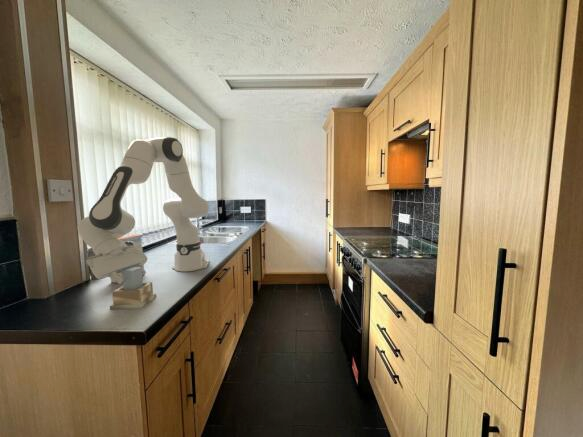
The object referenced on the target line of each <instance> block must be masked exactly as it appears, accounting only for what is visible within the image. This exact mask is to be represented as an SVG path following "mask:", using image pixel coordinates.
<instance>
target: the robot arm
mask: <svg viewBox="0 0 583 437" xmlns="http://www.w3.org/2000/svg"><path fill="white" fill-rule="evenodd" d="M183 153H184V149H183V145H182V143H181V142H180V141H179V140H178V139H177V138H175V137H172V136H171V137H170V136H166V137H154V138H149V139H134V140H133V141H132V142H131V143H130V145H129V146H128V148H127V150H126V152H125V154H124V156H123V159H122V162H121V163H120V166H118V167H117V168H116V169H115V171H114V172H113V173H112V175H111V177H110V178H109V181H108V182H107V185H106V186H105V188H104V190H103V192H102V193H101V196H100V197H99V199H98V200H97V201H96V202H95V204H94V205H92V207H91V208H90V211H89V213H88V216H85V217H84V218H83V219H81V220H80V221H79V223H78V224H77V232H78V235H79V236H80V238H82V240H83V242H84V243H85V244H86V245H87V246H88V247H90V248H92V249H93V252H94V253H95V256H90V257H88V258H87V259H86V258H85V263H86V265H87V266H90V269H91V271H92V272H93V274H94V275H95V277H96V278H98V279H97V280H103V279H106V278H109V279H110V280H111V279H113V280H115V281H117V282H118V283H117V284H119V285H122V284H123V283H124V281H125V279H124V277H120V276H118V275H116V274H118V273H121V272H122V270H124V269H127V268H130V267H142V276H144V275H146V274H147V271H146V270H145V265H146V263H147V262H148V257H147V255H146V254H145V253H144V252H143V250H142V251H141V250H140V249H139V248H137V247H135V246H136V244H135V243H134V242H127V241H119V240H118V239H117V238H120V237H124V236H127V235H128V234H129V233H131V232H132V231H133V229H134V227H135V225H136V220H135V218H134V215H132V214H130V213H129V212H127V211H126V210H124V209H123V208H122V206H121V203H122V200H123V199H124V196H125V195H126V194H125V193H126V192H127V190H128V187H129V186H130V185H139V184H140V185H141V184H143V183H145V182H147V181H148V179H149V177H150V176H151V173H152V170H153V166H154V163H163V168H164V171H165V177H166V179H167V184H168V188H169V190H171V192H173V193H175V194H176V195H177V196H178V197H174V198H170V199H167V200H165V201H164V203H163V205H162V206H163V207H162V210H163V212H164V215H165V216H166V217H168V218H169V219H170V221H171V222H172V224H173V226H174V229H175V235H176V245H175V248H176V252H175V254H174V261H173V262H174V264H173V266H172V267H171V268H172V269H173V270H175V271H176V272H192V271H193V272H194V271H199V270H201V269H206V268H207V267H208V265H209V263H210V259H206V253H205V252H204V251H203V250H202V248H201V245H202V241H199V229H198V227H197V226H196V225H194V224H193V223H192V222H191V220H190V219H198V218H203V217H206V216H207V215H208V213H209V210H210V208H209V207H210V206H209V203H208V201H207V200H206V199H205V198H203V197H201V196H200V195H199V193H198V192H197V191H196V189H195V188H194V185H193V183H192V180H191V179H192V178H191V175H190V171H189V167H188V164H187V160H186V158H185V157H184V154H183ZM143 265H144V266H143Z"/></svg>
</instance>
